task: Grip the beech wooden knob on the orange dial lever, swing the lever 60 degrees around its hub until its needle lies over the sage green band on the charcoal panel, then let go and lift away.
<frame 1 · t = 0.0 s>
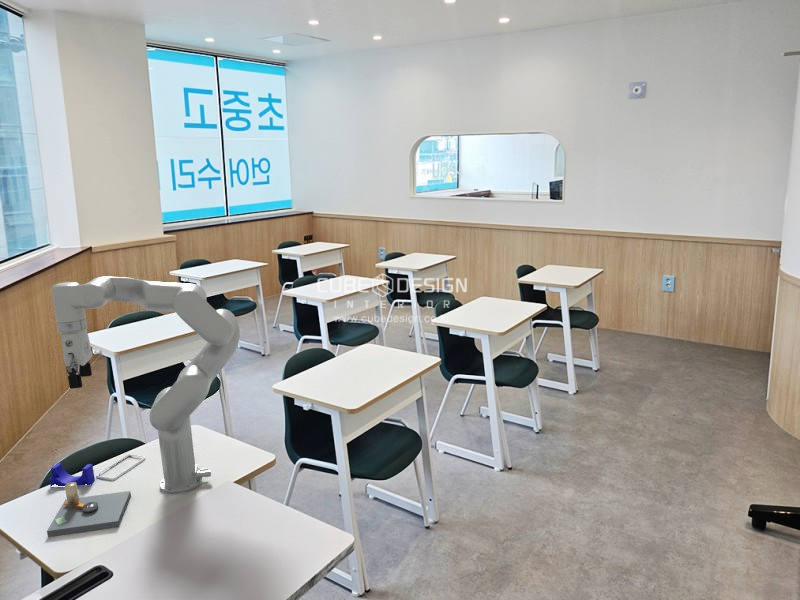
hand: (81, 381, 175), 37 cm above the table, tool pointing down, fingers open, 9 cm apart
dial lever: (79, 496, 172), point 6 cm above the table, hinge at 0.0°
blue cradle holder: (73, 485, 190), on the table
dial panel: (91, 516, 172), on the table
grey rectangular frame: (121, 469, 199), on the table
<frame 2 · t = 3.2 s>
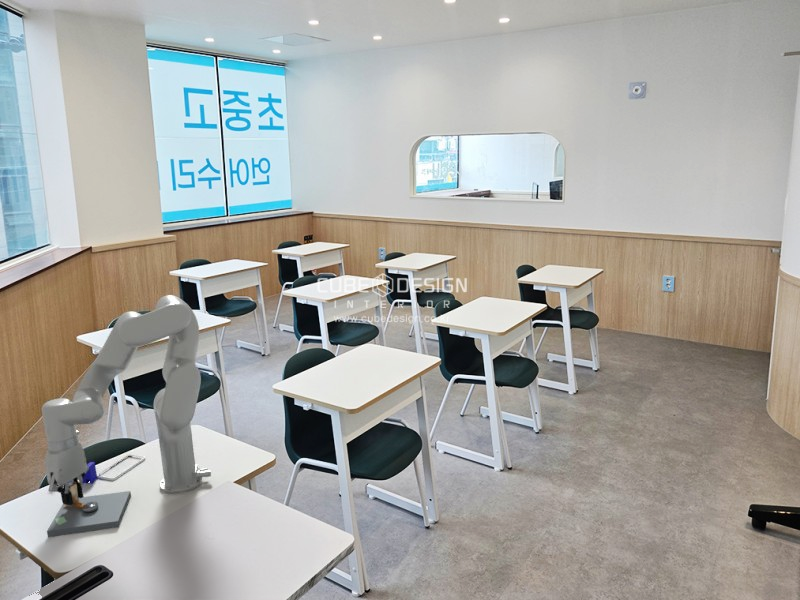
hand: (73, 500, 173), 4 cm above the table, tool pointing down, fingers closed on dial lever, 3 cm apart
dial lever: (79, 496, 172), point 6 cm above the table, hinge at 0.0°, touching gripper
blue cradle holder: (75, 483, 191), on the table
everything else where it was.
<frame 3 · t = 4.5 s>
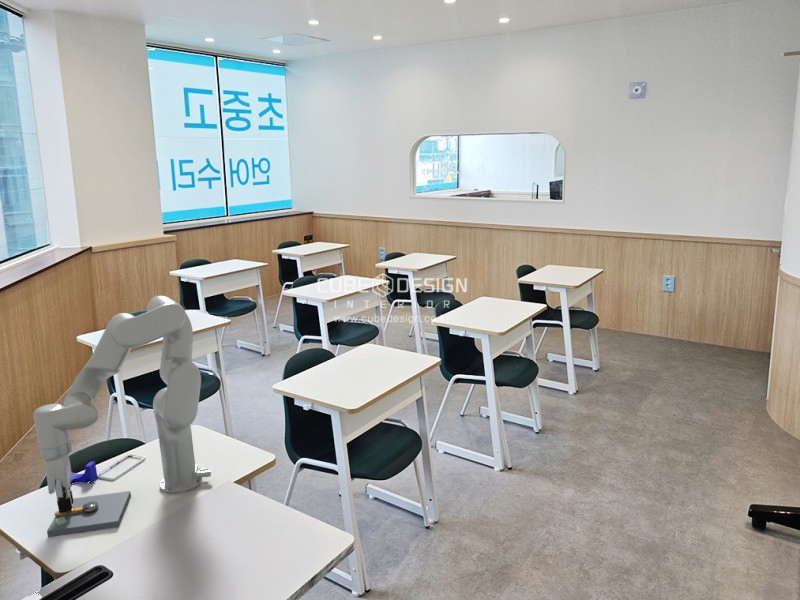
hand: (66, 507, 169), 4 cm above the table, tool pointing down, fingers closed on dial lever, 3 cm apart
dial lever: (75, 500, 170), point 6 cm above the table, hinge at 36.4°, touching gripper
everything else where it was.
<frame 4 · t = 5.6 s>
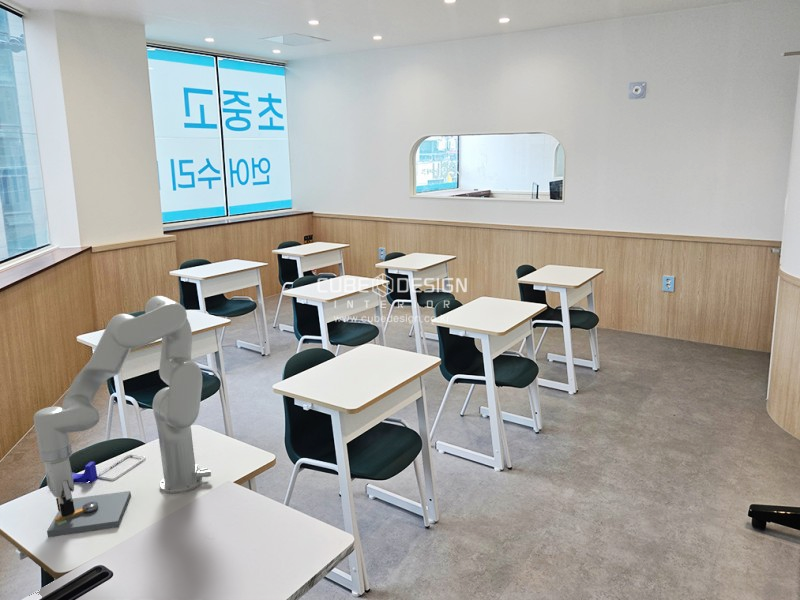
hand: (66, 511, 167), 4 cm above the table, tool pointing down, fingers closed on dial lever, 3 cm apart
dial lever: (75, 503, 169), point 6 cm above the table, hinge at 58.6°, touching gripper
everything else where it was.
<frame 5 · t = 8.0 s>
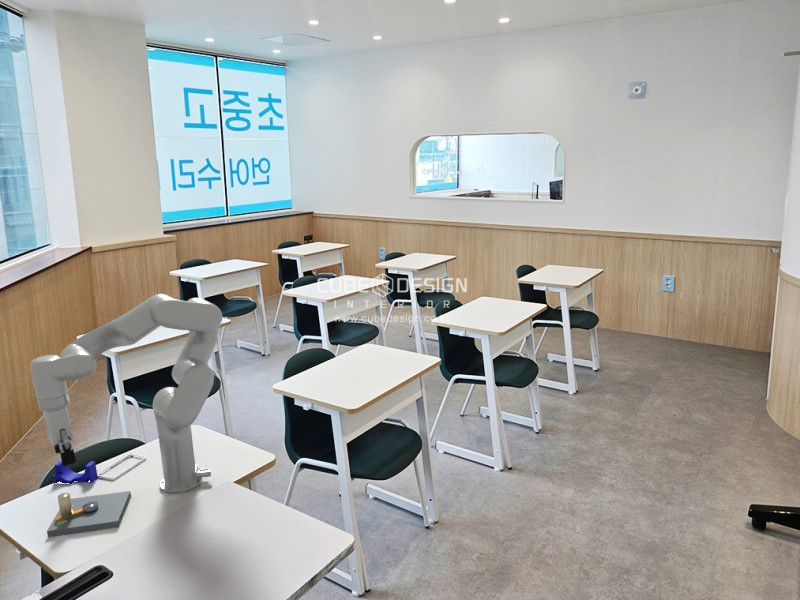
hand: (65, 457, 166), 19 cm above the table, tool pointing down, fingers open, 9 cm apart
dial lever: (75, 503, 169), point 6 cm above the table, hinge at 58.8°
everything else where it was.
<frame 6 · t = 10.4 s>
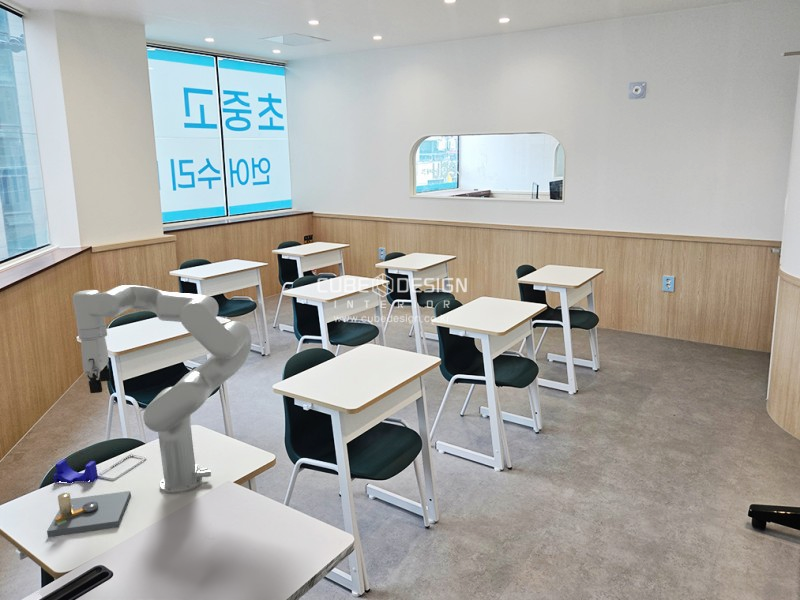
hand: (100, 386, 180), 33 cm above the table, tool pointing down, fingers open, 9 cm apart
at the end: dial lever at +59° (first picture: +0°); the gripper is holding nothing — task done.
